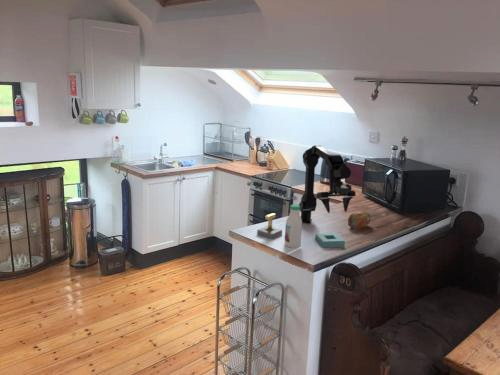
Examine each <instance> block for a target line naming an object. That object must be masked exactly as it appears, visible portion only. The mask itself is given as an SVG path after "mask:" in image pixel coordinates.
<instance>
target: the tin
mask: <svg viewBox="0 0 500 375" xmlns="http://www.w3.org/2000/svg"><path fill="white" fill-rule="evenodd" d="M370 221H371V214H370V213H369V212H367V211H359V212H355V213H354V212H353V213H351V214H349V216H348V218H347V225H348V227H349V228H351V229H354V230H356V229H361V228H366V227H368V226H369V224H370Z"/></svg>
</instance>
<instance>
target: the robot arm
mask: <svg viewBox="0 0 500 375" xmlns="http://www.w3.org/2000/svg"><path fill="white" fill-rule="evenodd" d="M320 158H322V160H324V164H325V165H326V166H327V167H328V168H327V170H326V172H327V173H328V180H329V182H328V183H327V185H328V186H329V191H321V192H317V193H316V194H315V195H316V196H315V195H314V192H315V191H314V190H315V189H314V188H315V171H316V167H317V165H318V163H319V160H320ZM302 162H303V164H304V166H305V176H304V177H305V178H304V192H303V195H302V196H301V199H300V202H299V204H298V205H299V206H300V211H299V212H300V217H301V220H302V223H309V224H312V221H313V220H312V219H313V218H312V212H315V211H316V210H317V209H316V208H317V204H318V203H317V199H318V200H319V201H321V203H322V205H323V206H324V208H325V209H326V211H327V213H328V214H329V213H331V212H330V211H331V209H330V199H331V198H330V197H342V205H343V210H344V212H345V213H346V212H348V207H349V204H350V201H351V200H352V199H353V198H354V197H357V194H356V191H355V190H352V185H351V183H348V184H345V185H344V182H343V181H342V180H344V179H349V178H350V177H351V174H352V171H351V169H350V168H349V167H348V166H347V164H346V163H345V161H344V159H343V157H342V155H341V154H339V153H333V152H331V151H329V150H328V149H326V148H325V147H324V146H323V145H321V144H320V145H317V144H316V145H312V146H311V147H310V148H308V149H307V150H305V151H304V152H303V153H302Z"/></svg>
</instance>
